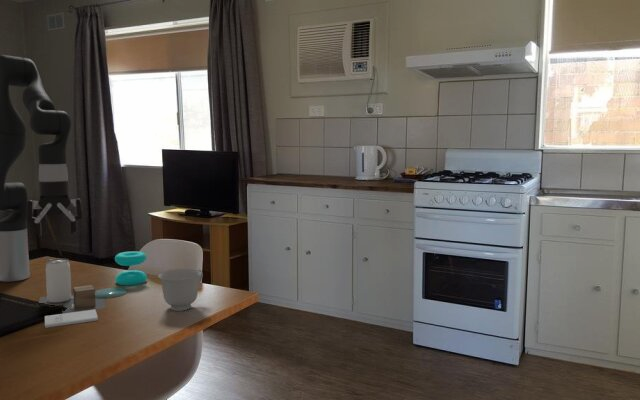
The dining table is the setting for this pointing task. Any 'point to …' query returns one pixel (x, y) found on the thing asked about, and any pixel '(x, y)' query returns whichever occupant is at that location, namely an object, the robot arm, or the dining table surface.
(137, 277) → the donuts
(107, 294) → the coaster
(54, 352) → the dining table surface
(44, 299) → the tile
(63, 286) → the can
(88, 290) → the walnut block
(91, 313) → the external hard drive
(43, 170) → the robot arm
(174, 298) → the teacup
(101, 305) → the tile
